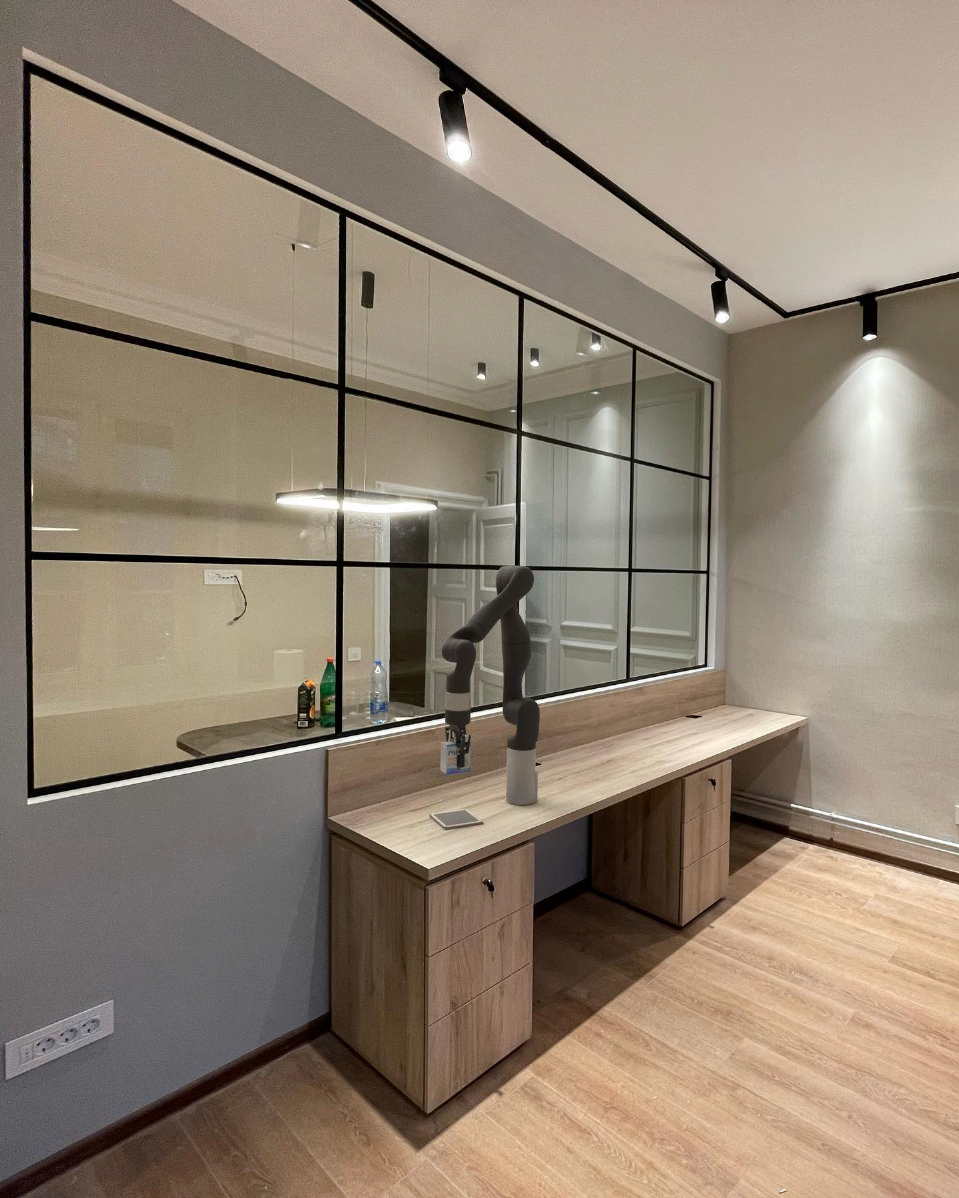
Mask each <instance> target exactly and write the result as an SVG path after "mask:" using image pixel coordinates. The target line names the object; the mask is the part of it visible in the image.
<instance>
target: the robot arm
mask: <svg viewBox="0 0 959 1198" xmlns="http://www.w3.org/2000/svg"><path fill="white" fill-rule="evenodd" d="M534 583H535V576H534V573H533V570H531V568H529V567H528V566H525V565H503V566H501V567H500V568H499V569H498V570H497V572H496V576H495V589H496V595H495V597H493V598H492V599H491V600H489V601H488V602H486V603H485V604H483V605H482V606H481V607H479V608H478V609H477V610H476V611H475V612H474V613H473V614H472V616H471V617H470V618H469V619H468V620H467V622H465V624H464V625H463V626H461V627H460V628H458V630H456V631H455V632H454V633H452V634H451V635H450V636H449V637H448V638H446V639H445V641H444V642H443V644H442V647H441V655H442V657H443V659H444V660H445V661H446V662H449V663H452V664H453V663H454V664H455V667H454V670H453V671H452V670H451V671H449V672H448V673H447V674H446V679H445V682H446V683H445V684H446V685H445V686H446V687H445V698H444V723H445V724H446V725H447V726H444V732H445V733H444V734H445V742H449V741H454V744H455V747H456V748H457V767H458V768H463V767H464V766H465V754H468V753H469V747H470V743H471V738H472V737H471V734H467V727H466V726H468V725H469V724H470V723H471V717H472V715H471V711H472V710H471V708H472V705H471V704H472V702H471V701H472V698H471V677H472V674H473V669H474V667H475V662H476V657H477V651H476V646H475V644H479V643H480V642H482V641H483V640H484V639H485V638H486V637H487V635H488V634H489V633H490V631H492V629H493V628H494V627H495V625H496V624H497V623H498V622H499V621H500V631H501V632H500V633H501V654H502V673H503V674H502V675H503V677H502V678H503V679H502V681H503V685H502V688H503V689H502V704H501V705H502V709H501V710H502V716H503V718H504V720H505V721H506V722H507V723H508V724H509V725H514V726H516V729H515V730H516V732H515V735H511V736H508V738H507V740H506V783H505V785H506V786H505V787H506V788H505V800H506V802H507V803H509V804H511V805H516V806H528V805H532V804H534V803H535V802H538V792H539V787H538V786H539V783H538V782H539V772H538V771H536V765H537V764H536V762H537V761H536V755H537V754H536V753H537V751H536V750H537V749H536V748H537V742H538V739H539V736H540V734H539V733H540V731H539V730H540V720H541V719H540V718H541V717H540V716H541V711H540V707H539V703H538V702H537V701H536V700H534V699H533V698H528V697H524V695H523V678H524V676H525V675H524V674H525V672H526V670H527V669H528V666H529V663H530V661H531V657H532V647H531V646H532V644H531V635H530V632H529V629H528V628H527V625H526V623H525V622H524V620H523V618H522V616H521V614H520V611H519V609H518V602H520V601H521V600H522V599H523V598H524V597H525V596H526V595H527V594H528V593H529V592H530V591H531V590H532V589H533V587H534ZM458 743H460V744H458ZM459 747H460V749H459Z"/></svg>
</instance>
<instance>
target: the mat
mask: <svg viewBox="0 0 959 1198" xmlns="http://www.w3.org/2000/svg"><path fill="white" fill-rule="evenodd" d="M429 817H430V818H431V819H432V820H433V821H434V822H436V823H437V825H439V827H441V828H442V829H443V830H444V831H445V830H451V829H458V828H465V827H471V826H477V825H483V824H484V821H483V820H482V819H481V818H480V817H478V816H476V815H475V814H474V813H473V812H471V811H470V810H468V808H460V809H455V810H447V811H443V812H442V811H440V812H434V813H433V812H432V813H429Z"/></svg>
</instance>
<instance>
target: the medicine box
mask: <svg viewBox="0 0 959 1198" xmlns="http://www.w3.org/2000/svg"><path fill="white" fill-rule="evenodd" d="M458 744H460V743H458ZM471 746H472V744H471V742H470V747H469V753H468V754H465V766H464V767H463V768H458V767H457V748H456V747H455V744H454V741H449V742H446V741H441V742H440V765H439V767H440V771H441V772H442V773H443V774H445V775H452V774H453V775H455V774H461V773H462V774H463V773H470V772H471V759H472V758H471V754H472V753H471V749H472V747H471ZM459 749H460V747H459Z"/></svg>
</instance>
